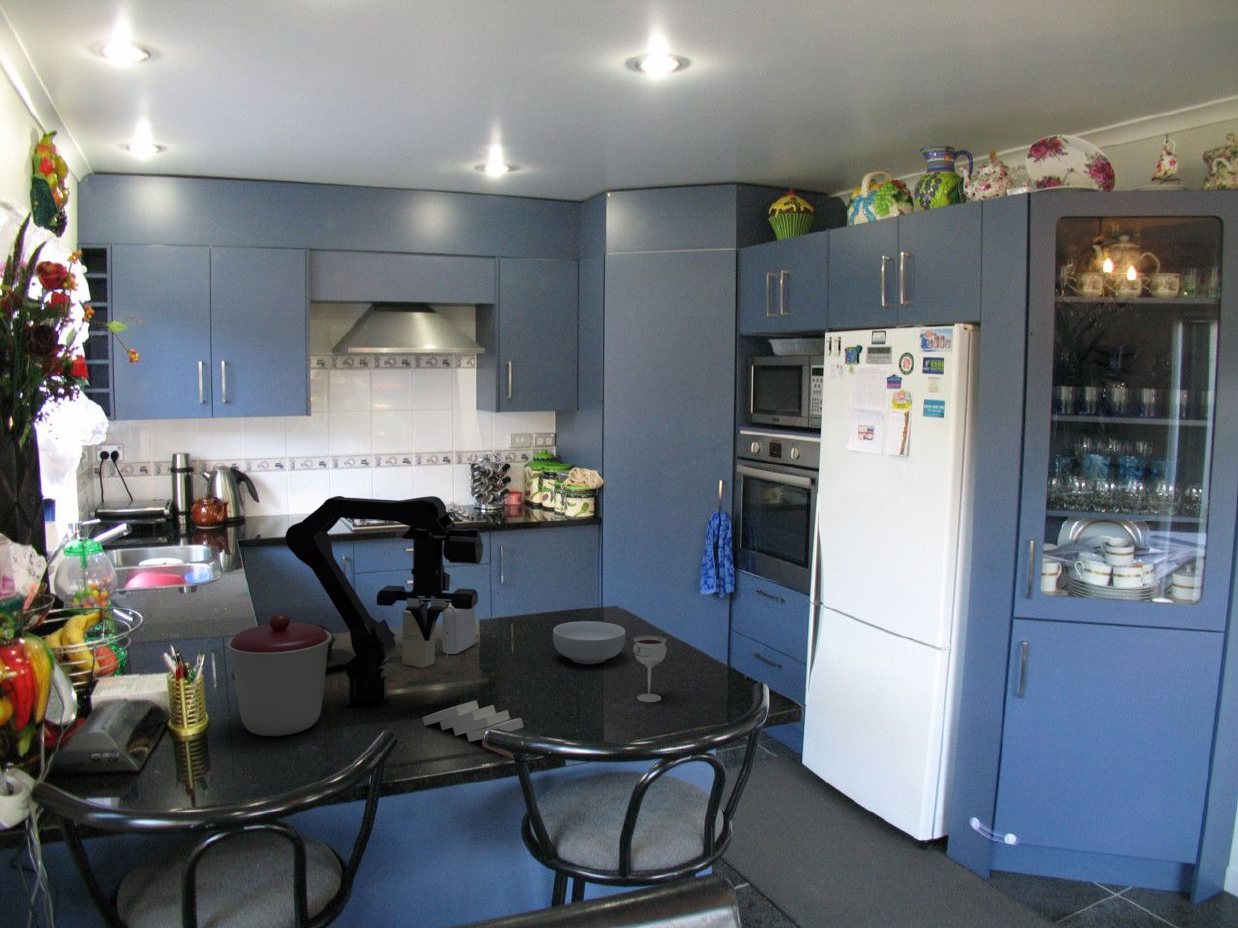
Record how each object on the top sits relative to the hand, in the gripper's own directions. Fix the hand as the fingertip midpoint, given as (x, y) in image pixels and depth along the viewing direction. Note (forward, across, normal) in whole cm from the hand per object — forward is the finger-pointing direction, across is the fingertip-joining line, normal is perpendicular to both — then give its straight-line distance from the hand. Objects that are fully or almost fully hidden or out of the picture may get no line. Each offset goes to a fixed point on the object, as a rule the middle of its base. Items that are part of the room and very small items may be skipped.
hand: (427, 640), depth 187 cm
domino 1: (+12, -4, +9) cm, 16 cm away
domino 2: (+12, -8, +11) cm, 18 cm away
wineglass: (+12, -43, -9) cm, 46 cm away
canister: (+13, +23, +15) cm, 30 cm away
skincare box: (+13, +9, -26) cm, 30 cm away
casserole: (+14, +35, -18) cm, 42 cm away
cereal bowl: (+13, -28, -34) cm, 46 cm away
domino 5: (+12, -17, +18) cm, 28 cm away
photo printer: (+13, +3, -38) cm, 40 cm away
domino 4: (+12, -14, +16) cm, 24 cm away
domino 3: (+12, -11, +13) cm, 21 cm away
